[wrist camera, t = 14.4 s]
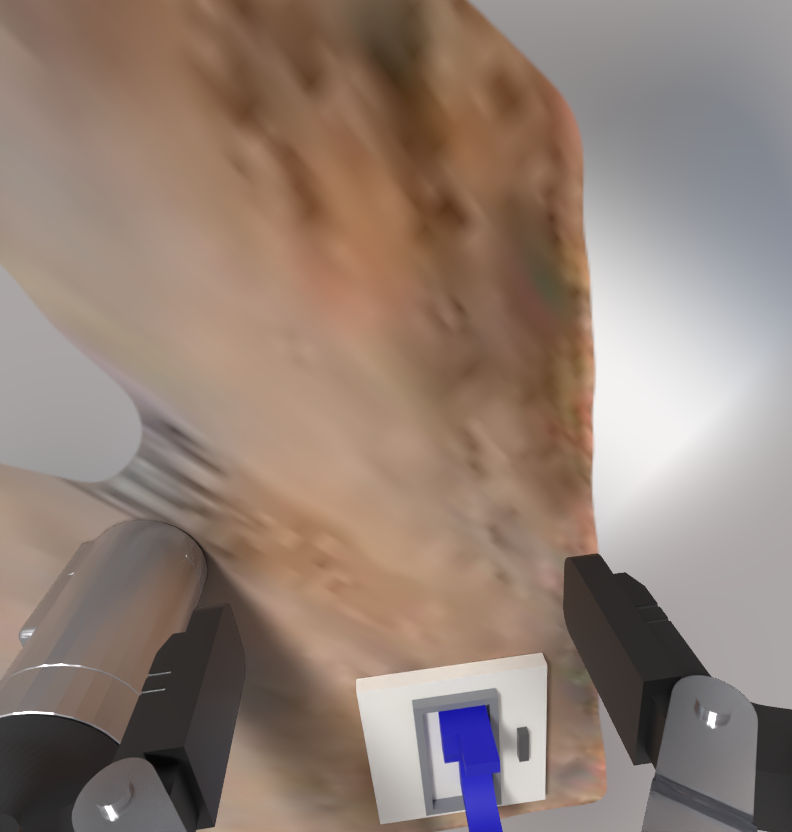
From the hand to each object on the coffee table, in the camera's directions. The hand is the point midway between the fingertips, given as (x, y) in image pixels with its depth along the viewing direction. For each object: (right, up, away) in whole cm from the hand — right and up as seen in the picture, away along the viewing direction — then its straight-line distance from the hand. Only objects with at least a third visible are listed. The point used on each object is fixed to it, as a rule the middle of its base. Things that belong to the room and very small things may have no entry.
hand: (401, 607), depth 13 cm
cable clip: (+7, -28, +42) cm, 51 cm away
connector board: (+6, -28, +44) cm, 52 cm away
